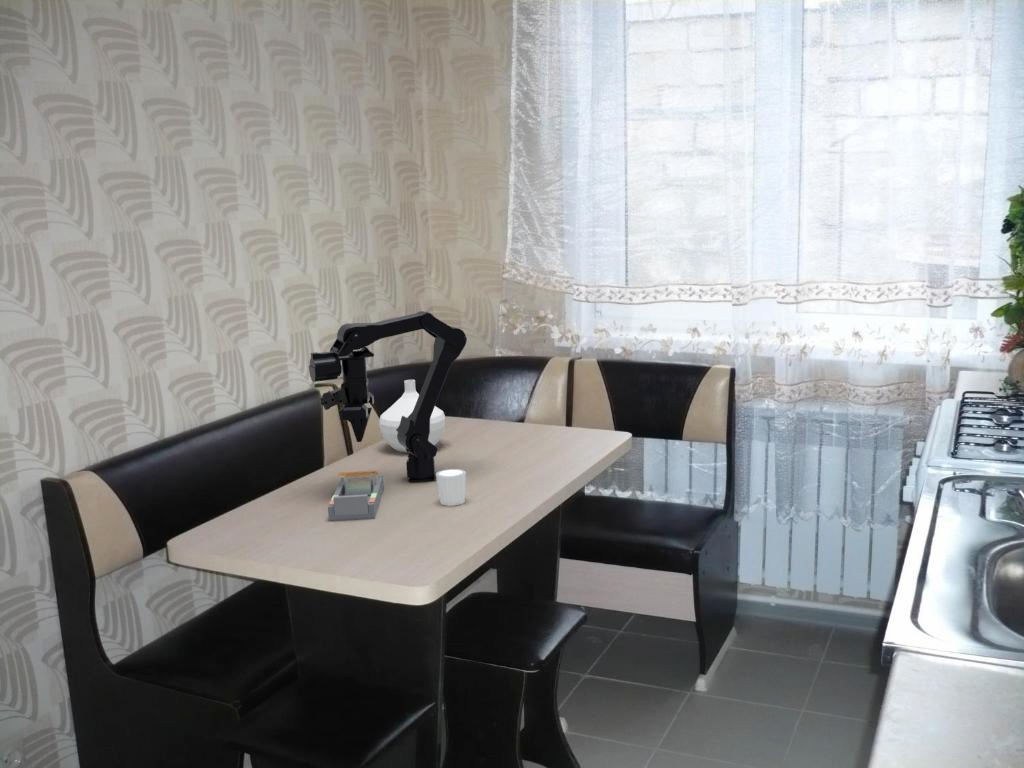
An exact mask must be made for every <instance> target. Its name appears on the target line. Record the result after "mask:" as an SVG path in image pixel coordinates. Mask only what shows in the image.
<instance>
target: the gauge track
mask: <svg viewBox="0 0 1024 768" xmlns="http://www.w3.org/2000/svg"><path fill="white" fill-rule="evenodd" d="M384 489H385V486H384V476H383V475H378V476H377V478H376V482H375V483H373V492H372V494H371V495H368V494H367V495H349V496H345V483H344V477H341V479H340V480H339V483H338V484H337V487H336V489H335V491H334V492H333V493H334V494H333V495H332V497H331V499H330V501H329V502H328V503H329V504H328V506H327V509H328V521H329V522H334V521H336V522H337V521H348V520H349V521H353V520H370V519H376V515H377V512H378V509H379V506H380V502H381V499H382V496H383V494H384Z"/></svg>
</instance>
